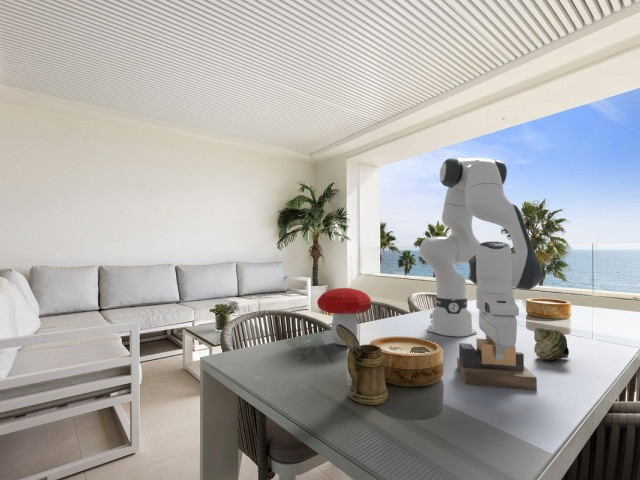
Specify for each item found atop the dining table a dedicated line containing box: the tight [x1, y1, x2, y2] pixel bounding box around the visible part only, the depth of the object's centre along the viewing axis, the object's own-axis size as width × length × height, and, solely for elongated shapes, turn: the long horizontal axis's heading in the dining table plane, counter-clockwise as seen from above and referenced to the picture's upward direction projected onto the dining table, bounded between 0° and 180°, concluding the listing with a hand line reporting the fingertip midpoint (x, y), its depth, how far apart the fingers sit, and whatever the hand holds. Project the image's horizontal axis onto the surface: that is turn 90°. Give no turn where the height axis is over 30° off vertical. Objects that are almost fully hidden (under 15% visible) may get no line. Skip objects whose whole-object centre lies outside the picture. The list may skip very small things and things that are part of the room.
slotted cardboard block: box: [475, 338, 517, 366], centre depth 89 cm, size 6×8×5 cm
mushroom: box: [316, 287, 372, 346], centre depth 120 cm, size 20×19×20 cm
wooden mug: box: [336, 324, 389, 406], centre depth 76 cm, size 9×14×18 cm, turn 127°
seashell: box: [533, 327, 570, 361], centre depth 103 cm, size 11×11×10 cm
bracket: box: [456, 342, 538, 391], centre depth 89 cm, size 12×16×8 cm
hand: (495, 355), depth 89 cm, fingers closed on slotted cardboard block, 5 cm apart
